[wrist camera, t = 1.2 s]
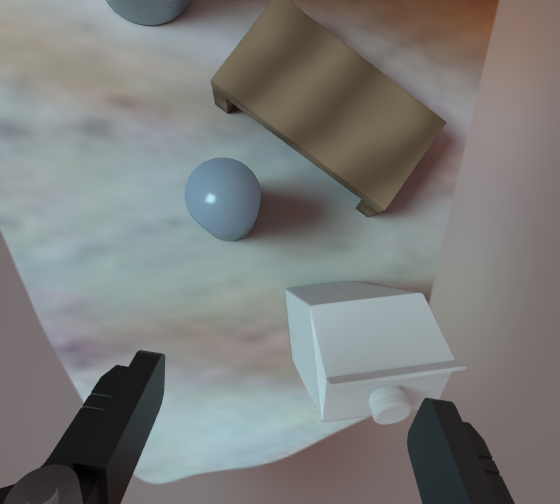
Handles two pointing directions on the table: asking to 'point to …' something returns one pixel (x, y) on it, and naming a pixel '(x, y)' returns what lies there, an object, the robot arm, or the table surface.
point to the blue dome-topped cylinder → (223, 198)
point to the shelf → (327, 104)
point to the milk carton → (367, 350)
